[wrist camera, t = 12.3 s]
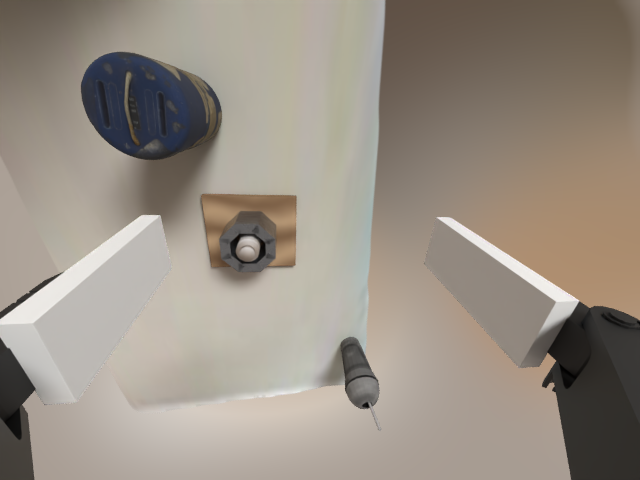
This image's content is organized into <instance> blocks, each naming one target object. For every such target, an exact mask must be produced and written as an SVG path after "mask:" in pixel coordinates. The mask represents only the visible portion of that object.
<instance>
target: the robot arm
mask: <svg viewBox="0 0 640 480" xmlns="http://www.w3.org/2000/svg"><path fill="white" fill-rule="evenodd" d="M424 264H425V265H426V266H427V268H428V269H429V270H430V271H431V272H432V273H433V274H434V275H435V276H436V277H437V279H438V280H439V281H440V282H441V283H442V284H443V285H444V286H445V287H446V288H447V290H448V291H449V292H450V293H451V294H452V295H453V296H454V297H455V298H456V299H457V301H458V302H459V303H460V304H461V305H462V306H463V307H464V308H465V309H466V310H467V312H468V313H469V314H470V315H471V316H472V317H473V318H474V319H475V320H476V321H477V323H478V324H480V326H481V327H482V328H483V329H484V330H485V331H486V332H487V334H488V335H489V336H490V337H491V338H492V339H493V340H494V341H495V342H496V343H497V344H498V346H499V347H500V348H501V349H502V350H503V351H504V352H505V353H506V354H507V355H508V356H509V358H510V359H511V360H512V361H513V362H514V363H515V364H516V365H517V366H518V368H526V367H539V366H540V365H541V363H542V361H543V360H544V358H545V356H546V355H547V353H549V354H550V355H551V356H552V357H553V358H554V359H555V360H556V362H555V364H554V365H553V367H552V368H551V370H550V372H549V373H548V375H547V376H546V378H545V379H544V381H543V384H542V387H545V388H547V386H548V384H549V383H552V382H553V383H554V385H555V387H554V388H553V390H552V391H554V392H556V396H557V401H558V407H559V413H560V419H561V424H562V429H563V435H564V441H565V446H566V452H567V458H568V463H569V469H570V475H571V480H640V320H638V319H636V318H634V317H632V316H630V315H628V314H626V313H624V312H621V311H618V310H615V309H612V308H608V307H603V306H594V307H591V308H588V307H587V306H586V305H584V304H583V303H581V302H580V301H579V300H577V299H576V298H574V297H573V296H571V295H569V294H568V293H566V292H564V291H563V290H561V289H560V288H559V287H557V286H555V285H554V284H552V283H551V282H549V281H548V280H546V279H545V278H543V277H541V276H540V275H538V274H537V273H535V272H534V271H532V270H531V269H529V268H528V267H526V266H525V265H523V264H521V263H520V262H518V261H517V260H515V259H514V258H512V257H511V256H509V255H508V254H506V253H504V252H503V251H501V250H500V249H498V248H497V247H495V246H494V245H492V244H490V243H489V242H487V241H486V240H484V239H483V238H481V237H480V236H478V235H477V234H475V233H473V232H472V231H470V230H469V229H467V228H466V227H464V226H463V225H461V224H460V223H458V222H456V221H455V220H453V219H452V218H450V217H436V221H435V224H434V228H433V231H432V235H431V239H430V243H429V247H428V250H427V254H426V258H425V262H424ZM171 269H172V265H171V260H170V256H169V251H168V247H167V242H166V238H165V233H164V229H163V224H162V220H161V216H160V215H141V216H140V217H138V218H137V219H136V220H134V221H133V222H132V223H130V224H129V225H128V226H126V227H125V228H123V229H122V230H121V231H119V232H118V233H117V234H115V235H114V236H113V237H111V238H110V239H108V240H107V241H106V242H104V243H103V244H102V245H100V246H99V247H98V248H96V249H95V250H94V251H92V252H91V253H89V254H88V255H87V256H85V257H84V258H83V259H81V260H80V261H79V262H77V263H76V264H75V265H73V266H72V267H70V268H69V269H68V270H66V271H65V272H62V273H60V274H58V275H56V276H54V277H51V278H49V279H47V280H45V281H43V282H42V283H41V284H39V285H38V286H36V287H35V288H33V289H32V290H31V291H29V292H30V293H28V294H25V295H24V296H22V297H21V298H20V299H18V300H17V302H16V303H12V304H11V305H10V306H8V307H7V308H5V309H4V310H3V311H1V312H0V480H34V472H33V462H32V452H31V442H30V432H29V422H28V413H27V412H26V411H25V408H24V407H23V406H22V404H23V403H24V402H25V401H26V399H27V398H28V397H29V396H30V395H31V394H32V393H33V391H34V390H35V391H36V393H37V395H38V396H39V398H40V399H41V401H42V402H43V404H44V405H52V404H64V403H76V402H78V400H79V399H80V398H81V396H82V395H83V393H84V392H85V390H86V389H87V388H88V386H89V384H91V382H92V381H93V379H94V378H95V376H96V375H97V374H98V372H99V371H100V369H101V368H102V367H103V365H104V364H105V362H106V361H107V360H108V358H109V357H110V355H111V354H112V352H113V351H114V350H115V348H116V347H117V345H118V344H119V343H120V341H121V340H122V338H123V337H124V336H125V334H126V333H127V331H128V330H129V328H130V327H131V326H132V324H133V323H134V321H135V320H136V319H137V317H138V316H139V314H140V313H141V312H142V310H143V309H144V307H145V306H146V304H147V303H148V302H149V300H150V299H151V297H152V296H153V295H154V293H155V292H156V290H157V289H158V288H159V286H160V285H161V283H162V282H163V280H164V279H165V278H166V276H167V275H168V273H169V272H170V271H171Z"/></svg>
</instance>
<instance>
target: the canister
mask: <svg viewBox="0 0 640 480" xmlns="http://www.w3.org/2000/svg"><path fill="white" fill-rule="evenodd" d="M81 94H82V101H83V105H84V108H85V111H86V114H87V116H88V118H89V120H90V122H91V123H92V125H93V126H94V127H95V129H96V130H97V132H98V133H99V134H100V135H101V136H102V137H103V138H104V139H105V140H106V141H107V142H108V143H109V144H110V145H112V146H113V147H115V148H116V149H118V150H119V151H121V152H123V153H125V154H127V155H130V156H133V157H136V158H140V159H146V160H158V159H164V158H167V157H170V156H173V155H175V154H177V153H179V152H182V151H184V150H187V149H190V148H193V147H195V146H197V145H199V144H201V143H203V142H205V141H208V140H209V139H211V138H212V137H213V136H214V135H215V134H216V133H217V131H218V129H219V127H220V125H221V120H222V111H221V106H220V102H219V100H218V98H217V96H216V94H215V92H214V91H213V89H212V88H211V87H210V86H209V85H208V84H207V83H206V82H205V81H204V80H202V79H201V78H199V77H198V76H196V75H193V74H191V73H189V72H186V71H183V70H180V69H178V68H176V67H174V66H171V65H168V64H165V63H163V62H160V61H157V60H154V59H151V58H148V57H145V56H142V55H139V54H135V53H129V52H114V53H109V54H106V55H103V56H101V57H99V58H98V59H96V60H95V61H94V62H93V63H92V64H91V65H90V66H89V67H88V69H87V70H86V72H85V74H84V77H83V80H82V83H81Z"/></svg>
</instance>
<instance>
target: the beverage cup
mask: <svg viewBox="0 0 640 480" xmlns="http://www.w3.org/2000/svg"><path fill="white" fill-rule="evenodd" d="M341 349H342V350H341V351H342V358H343V365H344V373H345V391H346V393H347V395H348V398H349V400H350V401H351V402H352V403H353V404H354V405H355V406H356V407H358V408H360V409H368V408H370V409H371V412H372V414H373V417H374V419H375V422H376V424H377V427H378V430H379V431H381V428H380V425H379V423H378V420H377V418H376V415H375V412H374V410H373V408H372V406H374V405H375V403H376V402H377V400H378V397H379V384H378V380H377V379H376V377H375V375H374V374H373V372H372V370H371V368H370V366H369V363H368V361H367V359H366V356H365V354H364V352H363V350H362V347H361V345H360V344H359V341H358V340H357V339H356V338H354V337H349V338H346V339H344V340H343V341H342V343H341Z"/></svg>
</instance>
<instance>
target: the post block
mask: <svg viewBox="0 0 640 480" xmlns="http://www.w3.org/2000/svg"><path fill="white" fill-rule="evenodd" d="M201 198H202V205H203V212H204V219H205V225H206V232H207V239H208V246H209V253H210V259H211V266H212V267H231V266H230V265H229V264H227V263H226V262H225V261H223V260H222V259H221V251H220V243H219V238H220V236H221V234H222V232H223V230H224V228H225V226H226V224H227V223H228V222H229V221H230V220H231V219H233V218H234V217H235V216H236V215H237V214H238V213H239V212H240V211H262V212H263V213H264V214H265V215H266V216H267V217H268V218H269V219H270V220H272V221H273V222H274V223H275V224H276V239H277V244H276V259H274V260H273V261H272V262H271V263H270V264H269V265H268V266H292V265H295V257H296V196H290V195H235V194H203V195H202V196H201ZM237 240H238V241H239V242H238V245H237V248H236V254H237V256H238V258H240V259H241V260H243V261H246V262H250V261H253V260H255V259H256V258H257V257H258V255H259V250H260V246H261V245H262V244H263V243H264V241H263V240H262V239H260V238H259V237H258V236H257V235H256V234H239V235H238V236H237Z"/></svg>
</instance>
